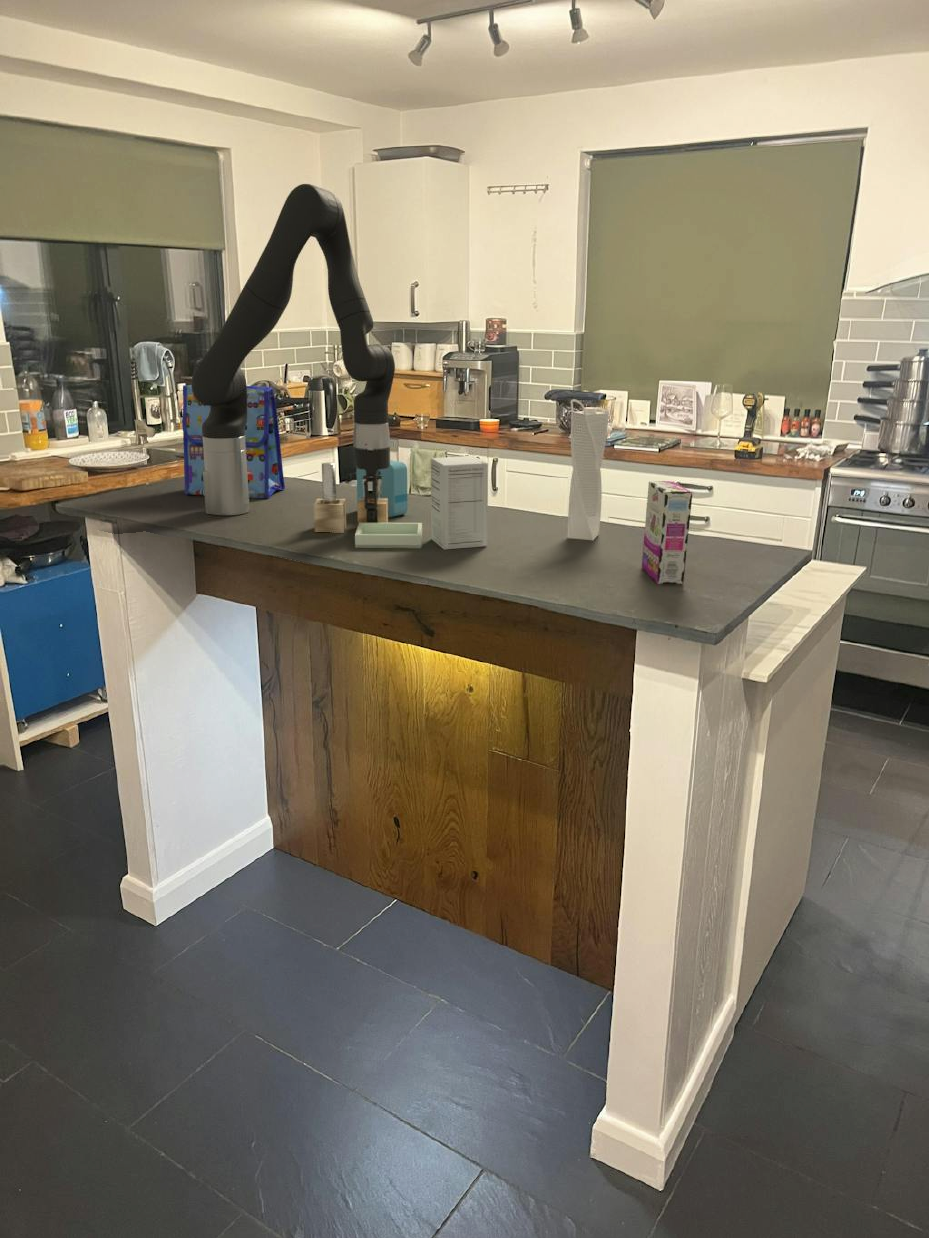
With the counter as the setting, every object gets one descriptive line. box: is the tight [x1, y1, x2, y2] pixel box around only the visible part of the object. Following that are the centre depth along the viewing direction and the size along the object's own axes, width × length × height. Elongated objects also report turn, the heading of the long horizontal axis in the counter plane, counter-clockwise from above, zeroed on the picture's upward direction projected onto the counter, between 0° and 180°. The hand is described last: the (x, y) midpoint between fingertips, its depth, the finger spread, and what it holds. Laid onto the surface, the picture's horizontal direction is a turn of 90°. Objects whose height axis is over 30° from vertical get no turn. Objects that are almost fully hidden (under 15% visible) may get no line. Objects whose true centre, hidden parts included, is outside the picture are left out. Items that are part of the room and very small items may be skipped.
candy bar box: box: [641, 480, 694, 586], centre depth 165 cm, size 11×5×16 cm, turn 5°
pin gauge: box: [321, 462, 337, 504], centre depth 197 cm, size 3×3×14 cm
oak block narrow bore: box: [356, 498, 389, 526], centre depth 199 cm, size 6×6×6 cm
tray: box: [354, 522, 423, 549], centre depth 189 cm, size 13×11×3 cm
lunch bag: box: [181, 384, 286, 499], centre depth 231 cm, size 22×14×29 cm, turn 82°
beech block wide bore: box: [313, 498, 347, 534], centre depth 198 cm, size 6×6×6 cm
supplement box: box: [430, 455, 489, 551], centre depth 186 cm, size 10×9×17 cm
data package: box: [355, 459, 408, 518], centre depth 213 cm, size 12×4×12 cm, turn 50°
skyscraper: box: [567, 398, 609, 541], centre depth 191 cm, size 8×8×28 cm
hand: (373, 523), depth 200 cm, fingers closed on oak block narrow bore, 6 cm apart
